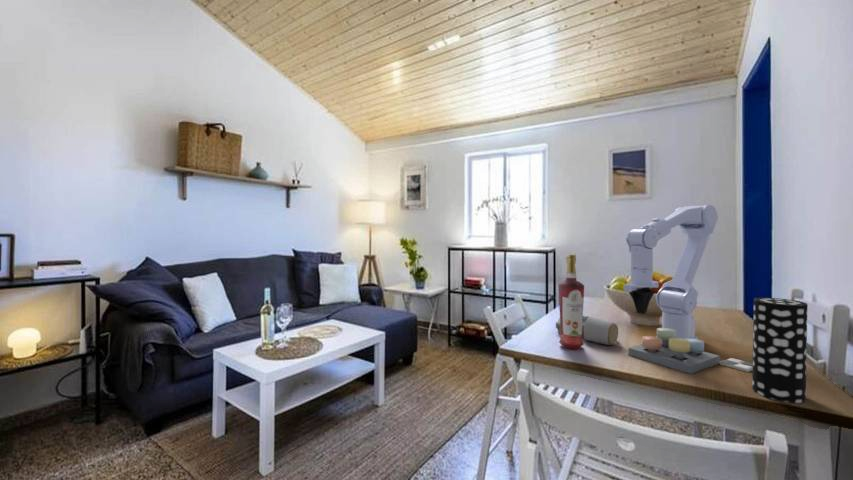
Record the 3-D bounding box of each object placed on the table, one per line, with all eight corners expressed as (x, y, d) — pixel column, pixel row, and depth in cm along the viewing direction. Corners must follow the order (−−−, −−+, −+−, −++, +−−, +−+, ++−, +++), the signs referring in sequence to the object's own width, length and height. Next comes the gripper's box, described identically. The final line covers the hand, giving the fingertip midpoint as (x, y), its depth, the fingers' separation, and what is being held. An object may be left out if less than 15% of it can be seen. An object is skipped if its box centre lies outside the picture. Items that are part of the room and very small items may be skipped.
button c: (648, 351, 106) (648, 335, 106) (665, 356, 102) (665, 339, 102) (638, 354, 104) (638, 337, 104) (655, 359, 100) (655, 341, 100)
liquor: (563, 351, 109) (563, 255, 108) (554, 343, 116) (554, 254, 115) (588, 350, 109) (588, 255, 108) (578, 343, 116) (578, 253, 115)
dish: (606, 332, 128) (606, 318, 128) (593, 342, 117) (593, 326, 117) (564, 325, 137) (564, 312, 137) (548, 334, 127) (548, 319, 127)
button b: (688, 354, 103) (688, 337, 103) (707, 359, 99) (707, 341, 99) (679, 357, 101) (679, 340, 101) (698, 362, 97) (698, 344, 97)
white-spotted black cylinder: (742, 386, 84) (743, 298, 83) (776, 384, 84) (777, 297, 84) (780, 404, 75) (782, 306, 75) (817, 401, 76) (819, 304, 75)
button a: (662, 343, 109) (662, 327, 109) (679, 347, 105) (679, 330, 105) (653, 345, 107) (653, 329, 107) (670, 350, 103) (670, 333, 103)
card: (730, 360, 100) (730, 357, 100) (759, 367, 95) (759, 364, 95) (719, 364, 97) (719, 361, 97) (748, 372, 92) (748, 369, 92)
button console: (657, 346, 112) (657, 339, 112) (719, 363, 98) (719, 355, 98) (628, 354, 105) (628, 347, 105) (691, 373, 91) (691, 365, 91)
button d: (674, 354, 100) (674, 336, 100) (693, 359, 96) (693, 341, 96) (664, 357, 98) (665, 339, 97) (684, 362, 94) (684, 344, 93)
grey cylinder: (610, 348, 111) (610, 323, 110) (583, 342, 117) (583, 318, 116) (623, 341, 118) (623, 317, 118) (597, 336, 124) (597, 313, 124)
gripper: (640, 271, 105) (640, 319, 106) (669, 268, 112) (668, 312, 113) (617, 269, 111) (616, 314, 112) (645, 266, 118) (645, 308, 119)
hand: (641, 313), depth 113 cm, fingers closed
